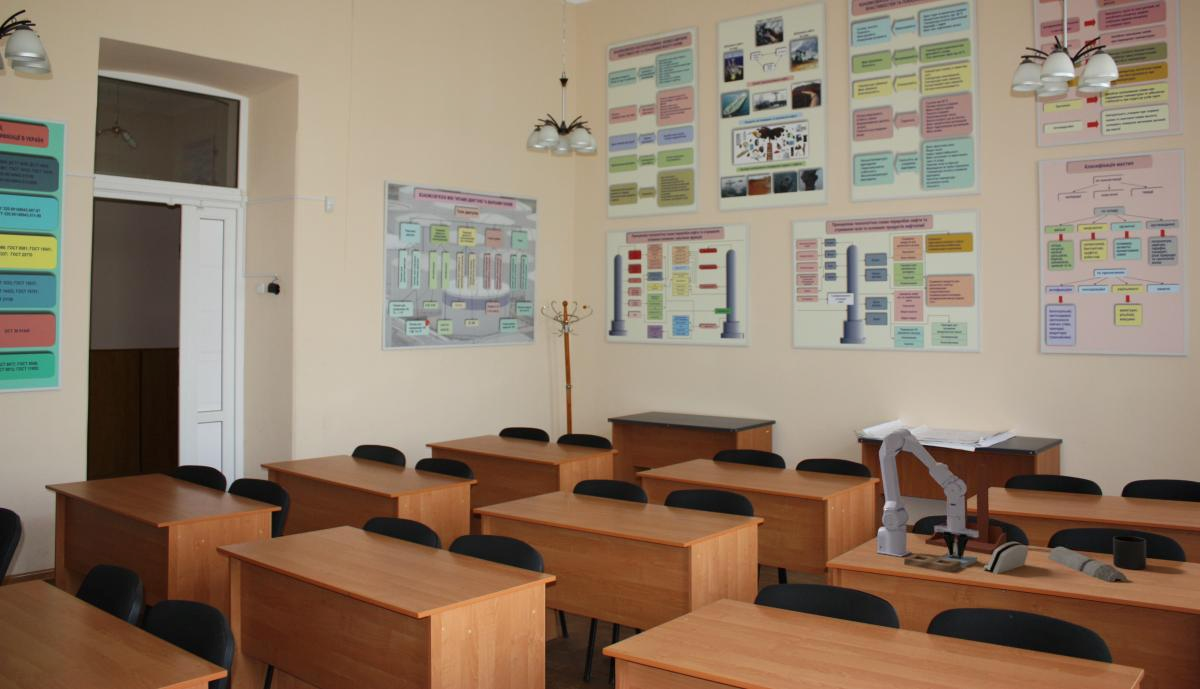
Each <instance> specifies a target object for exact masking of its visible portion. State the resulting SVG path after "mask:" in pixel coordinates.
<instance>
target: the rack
mask: <svg viewBox="0 0 1200 689" xmlns="http://www.w3.org/2000/svg"><path fill="white" fill-rule="evenodd" d="M937 557H938V556H937ZM937 557H936V556H929V555H923V554H918V553H917V554H916V553H914V554H911V555H909V556H907V557H904V558H903V560H904V563H903V564H904V565H906V566H911V567H916V568H917V567H918V568H924V569H930V570H936V571H941V572H946V573H952V572H954V571H956V570H957V571H958V569H959V570H960V569H961V568H962V567H961V561H955V560H949V559H943V558H937Z"/></svg>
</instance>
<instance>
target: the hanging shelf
mask: <svg viewBox="0 0 1200 689" xmlns="http://www.w3.org/2000/svg"><path fill="white" fill-rule="evenodd" d="M960 465H961V466H962V468H961V467H960ZM967 467H968V466H967V464H966V463H965V462H964V461H957V462H956V463H955V465H954V469H955V470H954V472H955V473H954V474H955V475H954V476H957V477H958V479H961V480H963V481H964V483H965V484H966V487H967V488H968V478H967V476H968V474H967V470H968V469H967ZM981 468H983V470H982V469H981ZM975 470H976V474H975V475H976V522H975V523H974V522H968V490H967V491H966V493H965V494H964V499H965V528H966V529H971V530H975V531H979V537H977V538H975V537H971V536H970V538H969V540H968V542H967V544H966V547H965V550H964V552H965V551H966V552H972V553H977V554H978V553H979V554H984V555H989V556H992V554H993V552H994V550H995V549H997V548H998V547H1000V546H1001V545H1003V544H1005V543H1007V532H1003V528H1002V526H995V525H990V520H989V519H990V518H989V516H990V515H989V513H990V512H989V506H990V505H989V503H990V502H989V468H988V466H987V464H986V463H978V464H977V465H976V469H975ZM938 526H947V519H946V520H945V522H944V523H941V524H939V525H938ZM943 534H944V533H943V532H933V533H932V535H931V536H930V537H929V538H925V540H924V541H925V542H924V543H925V545H932V546H936V547H942V548H948V547H947V544H946V542H945V540H944V538H943V536H942V535H943ZM958 536H960V535H957V534H955V540H954V541H958V540H957V537H958Z"/></svg>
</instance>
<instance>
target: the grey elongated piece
mask: <svg viewBox="0 0 1200 689" xmlns="http://www.w3.org/2000/svg"><path fill="white" fill-rule="evenodd" d="M1047 559H1049V560H1051V561H1054V562H1056V563H1059V564H1061V565H1063V566H1066V567H1068V568H1070V569H1073V570H1075V571H1076V572H1077V571H1078V572H1082V574H1085V575H1088V576H1090V577H1092V578H1097V579H1099V580H1102V581H1104V582H1107V583H1114V582H1115V581H1116V580H1118V581H1120V582H1128V578H1127V576H1126V575H1125V574H1124V572H1122V571H1119V570H1117V569H1116V568H1115V567H1113V566H1112V565H1111V564H1109V563H1106V562H1103V561H1100V560H1097V559H1095V558H1093V557H1089V556H1088V555H1085V554H1082V553H1080V552H1077V551H1073V550H1071V549H1069V548H1067V547H1064V546H1057V547H1054V548H1052V549H1051V551H1050V552H1049V554H1048V558H1047Z"/></svg>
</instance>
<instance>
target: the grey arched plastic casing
mask: <svg viewBox="0 0 1200 689" xmlns="http://www.w3.org/2000/svg"><path fill="white" fill-rule="evenodd" d="M1028 553H1029V548H1028V546H1026V545H1024V544H1022V543H1020V542H1018V541H1010V542H1006V543H1005V544H1003V545H1001V546H1000V547H998V548H997V549H995V550H994V552H993V554H991V557H990V559H989V562H988V564H985V565H984V566H983V569H982V571H984V572H985V571H992V573H993V574H1001V573H1004V572H1008V571H1010V570H1014V569H1017V568H1021V567H1023V566H1025V563H1026V560H1027V556H1028V555H1029V554H1028Z"/></svg>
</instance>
